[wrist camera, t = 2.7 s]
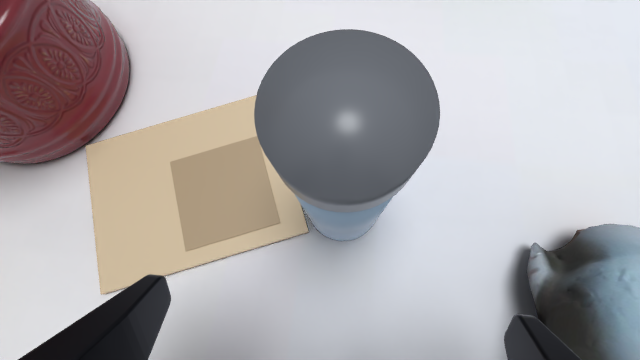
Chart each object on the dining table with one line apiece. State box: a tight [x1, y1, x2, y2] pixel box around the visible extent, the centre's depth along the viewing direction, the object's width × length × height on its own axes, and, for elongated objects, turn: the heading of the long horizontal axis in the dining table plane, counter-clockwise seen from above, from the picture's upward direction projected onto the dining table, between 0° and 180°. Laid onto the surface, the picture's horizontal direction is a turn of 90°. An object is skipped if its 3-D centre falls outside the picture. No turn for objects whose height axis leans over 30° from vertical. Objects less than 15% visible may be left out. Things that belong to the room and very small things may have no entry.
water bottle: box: [254, 29, 440, 241], centre depth 14 cm, size 5×5×13 cm
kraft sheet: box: [86, 95, 309, 294], centre depth 21 cm, size 13×10×1 cm
